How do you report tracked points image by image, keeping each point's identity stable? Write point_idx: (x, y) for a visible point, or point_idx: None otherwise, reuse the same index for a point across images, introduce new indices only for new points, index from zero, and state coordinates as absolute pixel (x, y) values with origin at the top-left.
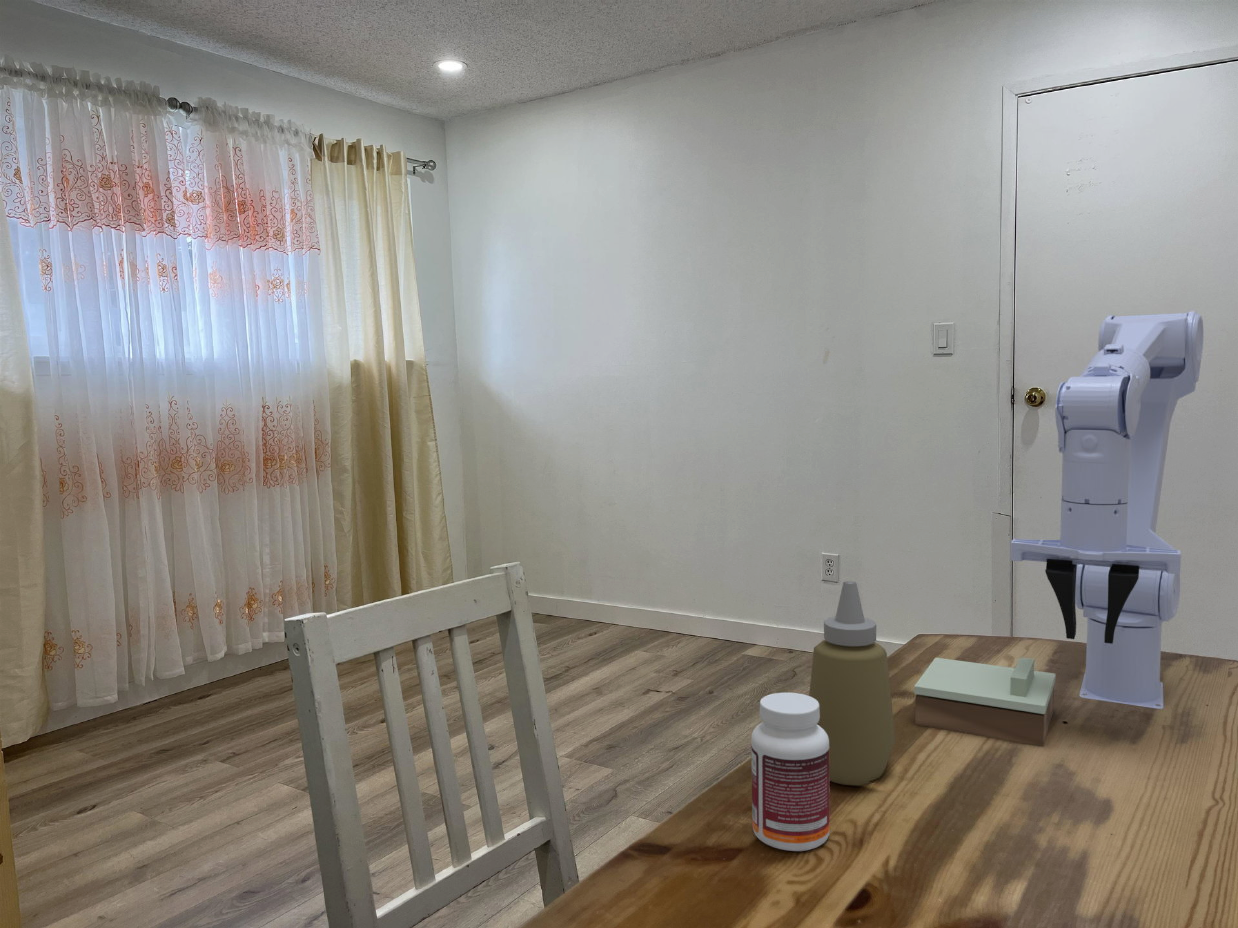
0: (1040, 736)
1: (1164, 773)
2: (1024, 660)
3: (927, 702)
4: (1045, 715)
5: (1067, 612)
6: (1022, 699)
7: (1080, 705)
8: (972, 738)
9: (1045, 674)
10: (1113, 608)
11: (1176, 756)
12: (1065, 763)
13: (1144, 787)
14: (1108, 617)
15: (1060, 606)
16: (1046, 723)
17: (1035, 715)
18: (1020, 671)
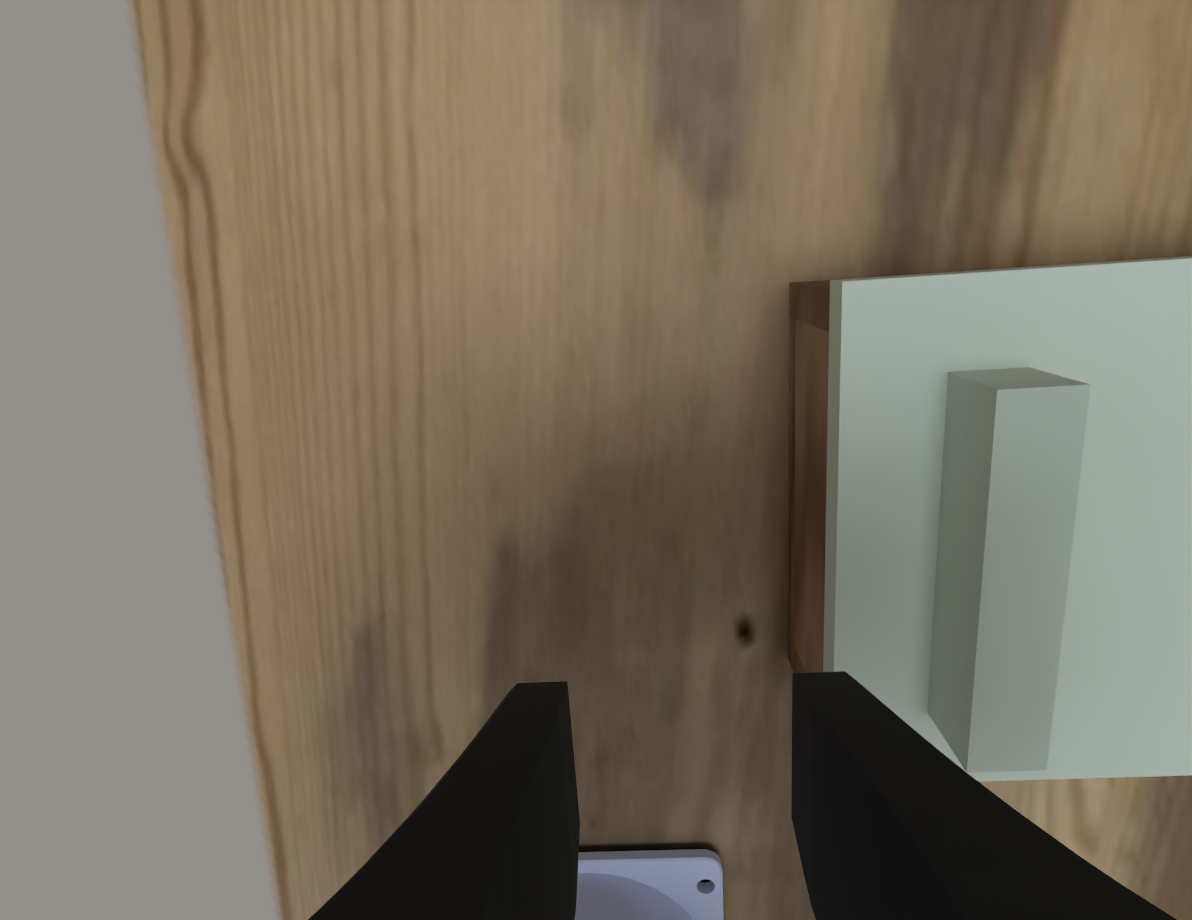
0: (816, 284)
1: (373, 316)
2: (1019, 726)
3: None
4: (822, 371)
5: (951, 800)
6: (961, 328)
7: (710, 813)
8: None
9: None
10: (416, 893)
11: (362, 497)
12: (698, 216)
13: (413, 137)
14: (501, 813)
15: (1075, 855)
16: (807, 418)
17: None
18: (1034, 524)
